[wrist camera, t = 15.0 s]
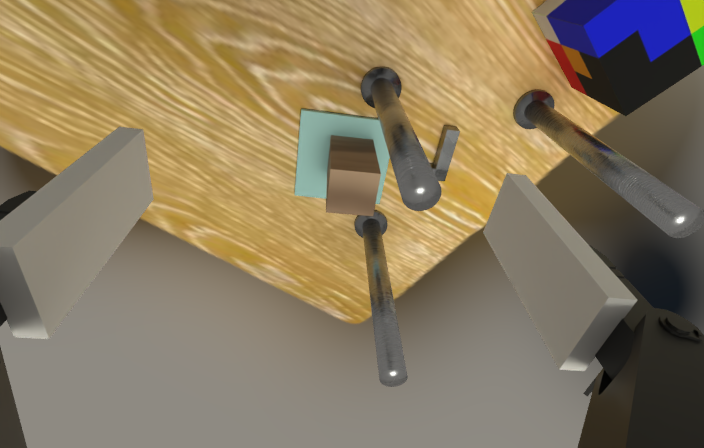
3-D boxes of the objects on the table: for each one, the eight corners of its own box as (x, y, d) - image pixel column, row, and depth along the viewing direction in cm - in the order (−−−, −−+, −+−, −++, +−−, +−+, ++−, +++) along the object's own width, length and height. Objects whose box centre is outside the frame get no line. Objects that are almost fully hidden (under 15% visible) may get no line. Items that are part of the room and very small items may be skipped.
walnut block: (330, 135, 46) (330, 169, 39) (373, 139, 47) (381, 173, 39) (326, 173, 49) (325, 212, 41) (366, 177, 49) (373, 216, 42)
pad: (295, 192, 51) (294, 195, 50) (301, 108, 45) (301, 110, 44) (378, 201, 52) (379, 204, 52) (396, 121, 46) (396, 122, 46)
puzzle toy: (531, 12, 40) (583, 25, 32) (628, -68, 37) (713, -75, 29) (571, 87, 45) (625, 116, 37) (661, 22, 42) (743, 38, 33)
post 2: (352, 235, 55) (364, 392, 35) (357, 208, 52) (372, 360, 33) (383, 238, 55) (412, 394, 35) (389, 211, 53) (424, 363, 33)
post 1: (358, 104, 45) (379, 220, 25) (364, 63, 42) (393, 156, 23) (396, 109, 45) (446, 227, 25) (404, 69, 43) (467, 165, 23)
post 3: (507, 124, 47) (637, 246, 27) (521, 87, 45) (676, 190, 25) (542, 129, 47) (695, 252, 28) (558, 92, 45) (738, 198, 25)
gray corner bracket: (397, 170, 50) (399, 176, 48) (409, 120, 46) (411, 125, 45) (441, 175, 50) (444, 181, 49) (456, 126, 47) (459, 131, 46)
